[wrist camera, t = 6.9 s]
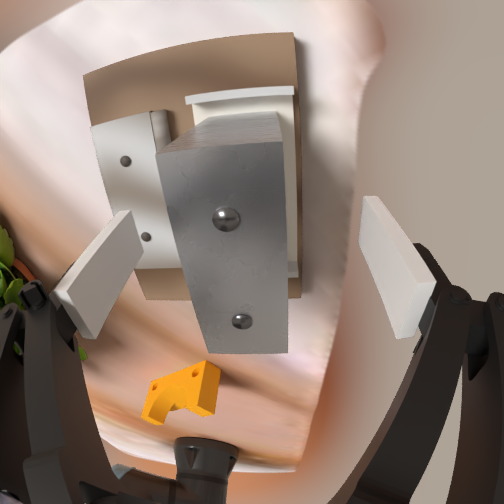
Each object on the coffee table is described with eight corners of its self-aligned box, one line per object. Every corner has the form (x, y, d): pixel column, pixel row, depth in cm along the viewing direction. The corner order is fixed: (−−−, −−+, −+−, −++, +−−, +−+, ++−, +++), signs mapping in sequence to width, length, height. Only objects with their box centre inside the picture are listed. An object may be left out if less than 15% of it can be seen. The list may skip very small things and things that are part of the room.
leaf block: (283, 251, 21) (287, 354, 13) (228, 253, 21) (208, 354, 14) (275, 110, 15) (283, 142, 8) (209, 116, 16) (153, 155, 8)
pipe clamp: (174, 393, 39) (165, 429, 33) (151, 380, 37) (140, 417, 32) (230, 374, 34) (225, 419, 29) (206, 358, 32) (197, 405, 27)
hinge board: (300, 288, 25) (301, 306, 23) (150, 291, 26) (142, 307, 24) (291, 35, 14) (294, 29, 12) (92, 74, 15) (74, 76, 13)
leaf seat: (296, 264, 22) (298, 277, 21) (219, 267, 22) (216, 279, 21) (291, 85, 15) (293, 85, 13) (191, 95, 15) (184, 96, 14)
